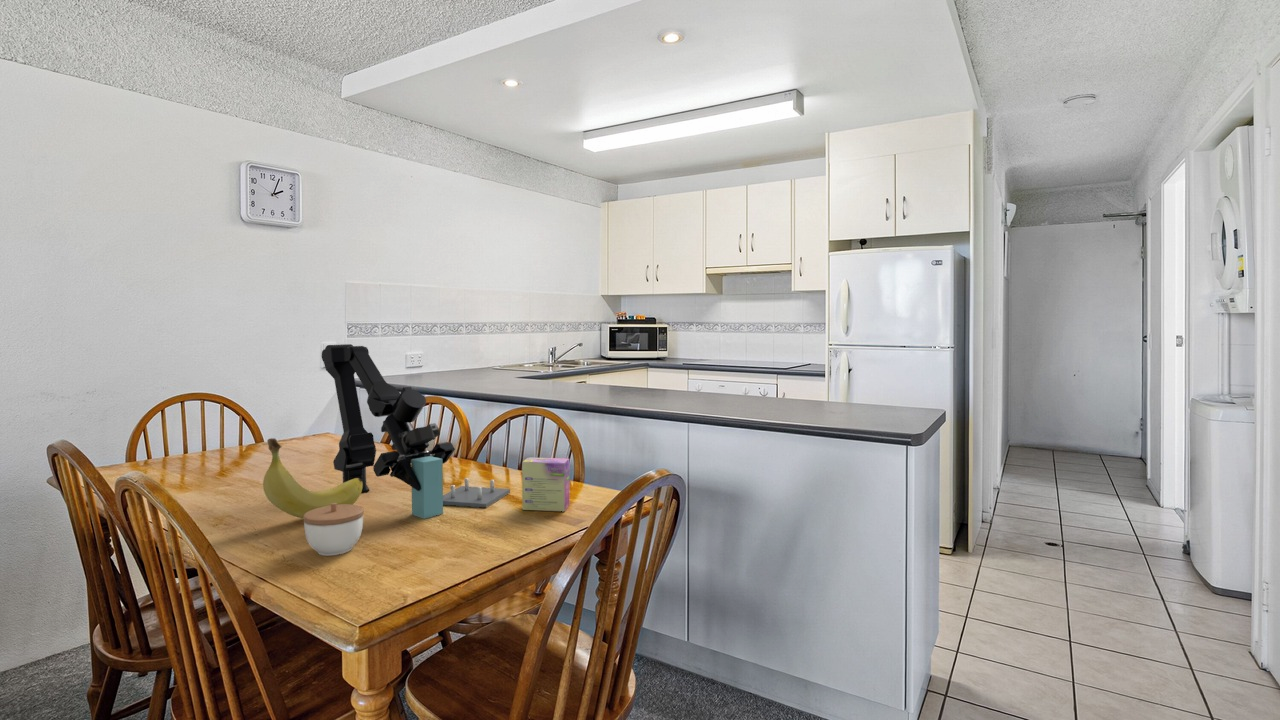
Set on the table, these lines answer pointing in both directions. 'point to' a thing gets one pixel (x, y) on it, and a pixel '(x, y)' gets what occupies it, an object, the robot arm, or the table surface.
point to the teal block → (428, 487)
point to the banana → (302, 489)
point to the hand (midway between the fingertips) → (430, 487)
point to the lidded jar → (333, 528)
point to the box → (545, 484)
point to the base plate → (474, 495)
